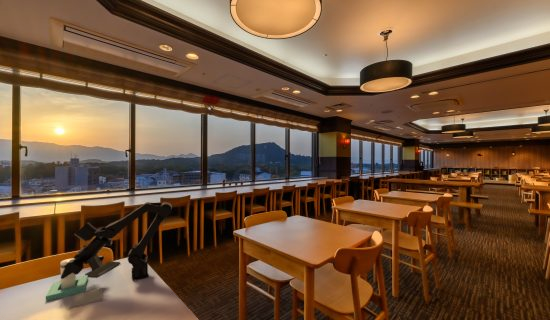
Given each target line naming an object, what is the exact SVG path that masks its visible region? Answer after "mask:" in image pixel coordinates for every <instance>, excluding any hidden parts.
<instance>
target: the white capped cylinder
mask: <svg viewBox="0 0 550 320" xmlns="http://www.w3.org/2000/svg"><path fill="white" fill-rule="evenodd" d="M72 259H74V257H73V258H72V257H71V258H67V259H63V260H61V261H60V266H59V267H60V281H61V288H60V290H62V289H66V288H70V287H74V286H77V284H76V277H77V275H76V274H74V273H71V274H70V275H68V276H67V277H65V278H64V279H62V278H61V276H62V273H63V271H64V269H65V267H64V266H65V265H66V264H67V263H68V262H69V261H70V260H72Z"/></svg>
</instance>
